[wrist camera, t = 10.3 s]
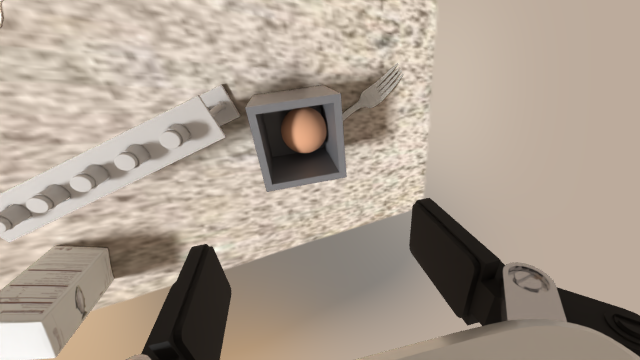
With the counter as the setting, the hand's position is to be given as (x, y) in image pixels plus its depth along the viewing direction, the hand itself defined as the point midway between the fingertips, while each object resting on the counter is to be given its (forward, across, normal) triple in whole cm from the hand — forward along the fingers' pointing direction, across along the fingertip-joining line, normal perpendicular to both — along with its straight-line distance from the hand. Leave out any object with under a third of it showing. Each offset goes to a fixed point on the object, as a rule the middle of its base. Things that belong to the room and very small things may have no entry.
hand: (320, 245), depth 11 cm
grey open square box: (+26, -1, +1) cm, 26 cm away
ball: (+22, -2, +1) cm, 22 cm away
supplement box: (+26, +37, +18) cm, 49 cm away
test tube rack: (+27, +19, 0) cm, 33 cm away
